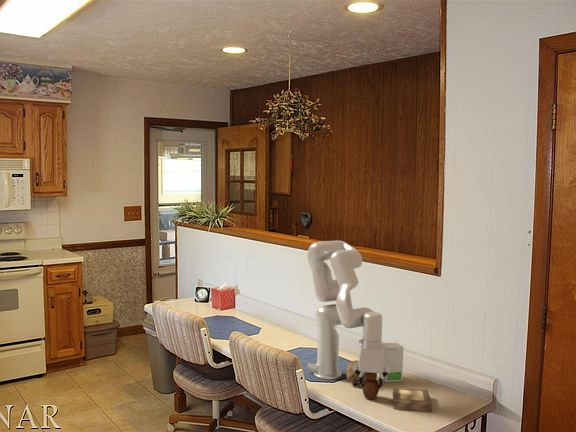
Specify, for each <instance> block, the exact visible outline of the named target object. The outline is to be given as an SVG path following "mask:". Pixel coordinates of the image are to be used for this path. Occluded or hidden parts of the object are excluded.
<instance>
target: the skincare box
mask: <svg viewBox="0 0 576 432" xmlns="http://www.w3.org/2000/svg"><path fill="white" fill-rule="evenodd" d="M382 347H383V349H384V362H385V363H386V364H387V365H388V366H389V367H390V368H391V371H390V372H389V373H388V374H387V375H386V376H385V377H384V379H383V382H385V383H395V382H402V381H403V367H404V365H403V363H404V345H401V344H400V343H399V342H385V343H383V342H382ZM386 370H387V369H386V368H385V367H384V372H385V371H386Z"/></svg>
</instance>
